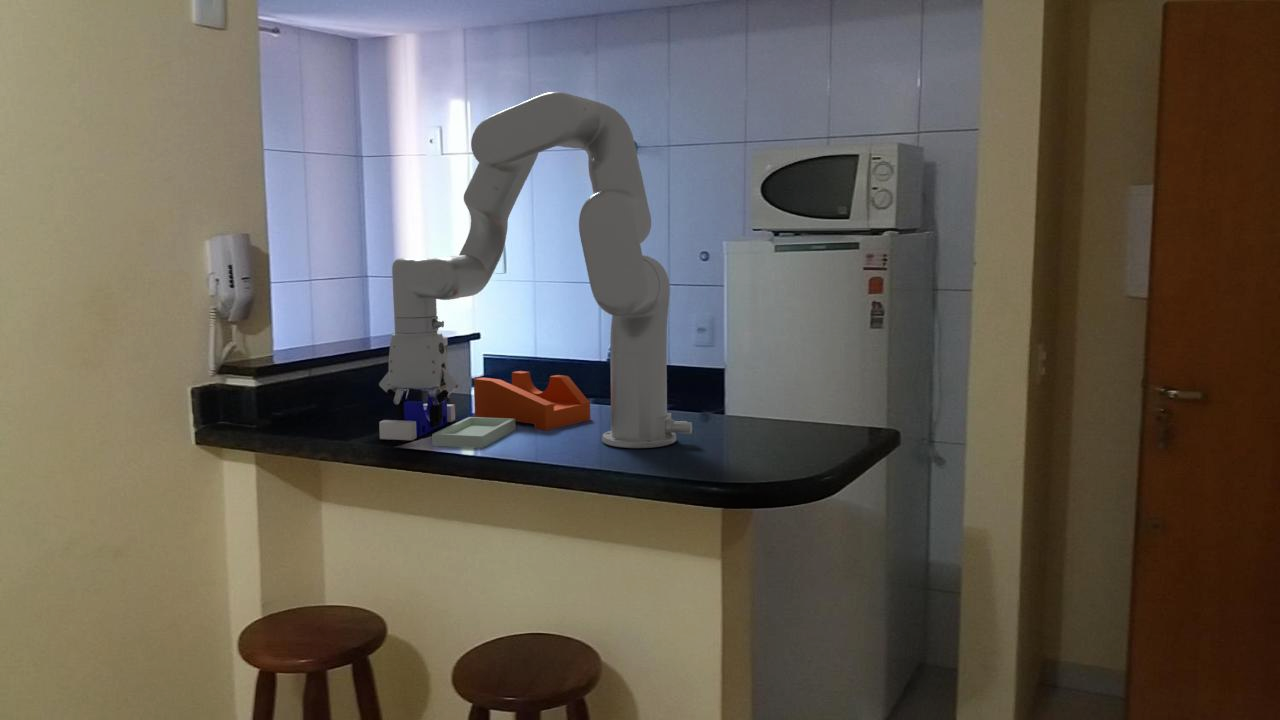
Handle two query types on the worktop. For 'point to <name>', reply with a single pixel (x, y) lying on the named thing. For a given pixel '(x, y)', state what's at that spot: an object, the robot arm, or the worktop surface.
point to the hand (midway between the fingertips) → (420, 424)
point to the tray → (474, 432)
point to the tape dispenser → (531, 401)
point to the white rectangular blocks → (407, 426)
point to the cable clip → (423, 415)
